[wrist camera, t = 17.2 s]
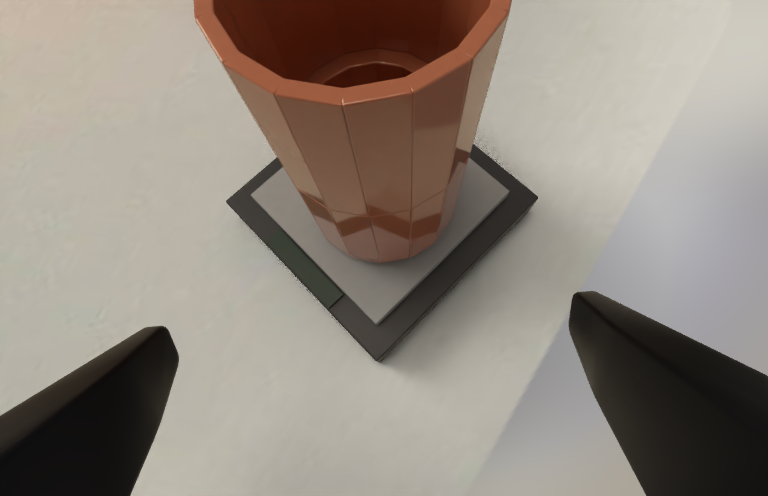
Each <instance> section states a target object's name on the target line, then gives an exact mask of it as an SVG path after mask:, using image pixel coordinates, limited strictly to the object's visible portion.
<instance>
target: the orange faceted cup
mask: <svg viewBox="0 0 768 496" xmlns="http://www.w3.org/2000/svg"><path fill="white" fill-rule="evenodd" d="M511 2H512V0H194V14H195V19H196V23H197V24H198V26H199V28H200V29H201V31H202V33H203V34H204V36H205V38H206V39H207V41H208V43H209V44H210V46H211V48H212V49H213V51H214V53H215V54H216V56H217V58H218V59H219V61H220V63H221V64H222V66H223V68H224V69H225V71H226V73H227V74H228V76H229V78H230V79H231V81H232V83H233V84H234V86H235V88H236V89H237V91H238V93H239V95H240V96H241V98H242V100H243V101H244V103H245V105H246V106H247V108H248V110H249V111H250V113H251V115H252V116H253V118H254V120H255V121H256V123H257V125H258V126H259V128H260V130H261V131H262V133H263V135H264V136H265V138H266V140H267V141H268V143H269V145H270V146H271V148H272V150H273V151H274V153H275V155H276V156H277V158H278V160H279V161H280V163H281V165H282V166H283V168H284V170H285V171H286V173H287V175H288V176H289V178H290V180H291V181H292V183H293V185H294V186H295V188H296V190H297V191H298V193H299V195H300V196H301V198H302V200H303V201H304V203H305V205H306V206H307V208H308V210H309V211H310V213H311V215H312V217H313V218H314V220H315V221H316V223H317V225H318V226H319V228H320V230H321V231H322V233H323V234H324V236H325V238H326V239H327V240H328V241H329V242H330V243H331V244H333V245H334V246H336V247H337V248H339V249H340V250H342V251H343V252H344V253H346V254H347V255H349V256H352V257H353V258H358V259H363V260H367V261H372V262H377V263H380V262H381V263H384V262H390V261H396V260H401V259H407V258H410V257H413V256H414V255H416V254H417V253H419V252H421V251H422V250H424V249H425V248H427V247H429V246H430V245H432V244H433V243H435V241H437V239H438V238H439V237H440V235H441V234H442V232H443V231H444V229H445V228H446V227H447V225H448V224H449V222H450V221H451V219H452V217H453V213H454V210H455V206H456V202H457V199H458V195H459V192H460V188H461V184H462V181H463V177H464V174H465V170H466V166H467V163H468V159H469V156H470V152H471V149H472V145H473V142H474V138H475V134H476V131H477V127H478V124H479V120H480V116H481V113H482V109H483V106H484V102H485V98H486V95H487V91H488V88H489V84H490V81H491V77H492V73H493V70H494V66H495V63H496V59H497V55H498V52H499V48H500V45H501V41H502V38H503V34H504V30H505V27H506V23H507V20H508V16H509V12H510V7H511Z"/></svg>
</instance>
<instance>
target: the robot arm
mask: <svg viewBox="0 0 768 496" xmlns="http://www.w3.org/2000/svg"><path fill="white" fill-rule="evenodd" d="M569 331H570V335H571V337H572V340H573V342H574V345H575V348H576V350H577V353H578V355H579V358H580V360H581V363H582V366H583V368H584V371H585V373H586V376H587V379H588V381H589V384H590V386H591V389H592V391H593V394H594V396H595V398H596V400H597V402H598V404H599V406H600V408H601V410H602V412H603V414H604V416H605V417H606V419H607V421H608V423H609V425H610V427H611V429H612V431H613V433H614V435H615V437H616V438H617V440H618V442H619V444H620V446H621V448H622V450H623V452H624V454H625V456H626V458H627V459H628V461H629V463H630V465H631V467H632V469H633V471H634V473H635V475H636V477H637V479H638V480H639V482H640V484H641V486H642V488H643V490H644V492H645V494H646V496H768V376H767V375H765V374H763V373H761V372H759V371H757V370H755V369H752V368H751V367H748V366H746V365H744V364H742V363H740V362H738V361H736V360H734V359H732V358H730V357H728V356H726V355H724V354H722V353H720V352H718V351H716V350H714V349H712V348H710V347H708V346H706V345H704V344H702V343H699V342H697V341H695V340H693V339H691V338H689V337H687V336H685V335H683V334H681V333H679V332H677V331H675V330H673V329H671V328H669V327H667V326H665V325H663V324H661V323H659V322H657V321H655V320H653V319H650V318H648V317H646V316H644V315H642V314H640V313H638V312H636V311H634V310H632V309H630V308H628V307H626V306H624V305H622V304H619V303H618V302H616V301H614V300H612V299H610V298H608V297H606V296H603V295H602V294H599V293H597V292H595V291H586V292H577V293H575V294H574V295H573V298H572V303H571V310H570V317H569ZM178 363H179V356H178V352H177V350H176V347H175V345H174V342H173V340H172V338H171V335H170V333H169V331H168V329H167V328H166V327H164V326H155V327H146V328H144V329H142V330H140V331H139V332H137V333H135V334H134V335H132V336H130V337H129V338H127V339H125V340H124V341H122V342H121V343H119V344H117V345H116V346H114V347H112V348H111V349H109V350H107V351H106V352H104V353H103V354H101V355H99V356H98V357H96V358H94V359H93V360H91V361H89V362H88V363H86V364H85V365H83V366H81V367H80V368H78V369H76V370H75V371H73V372H71V373H70V374H68V375H66V376H65V377H63V378H62V379H60V380H58V381H57V382H55V383H53V384H52V385H50V386H48V387H47V388H45V389H44V390H42V391H40V392H39V393H37V394H35V395H34V396H32V397H30V398H29V399H27V400H26V401H24V402H22V403H21V404H19V405H17V406H16V407H14V408H12V409H11V410H9V411H8V412H6V413H4V414H3V415H1V416H0V496H130V495H131V492H132V490H133V488H134V485H135V483H136V481H137V478H138V476H139V474H140V471H141V469H142V467H143V464H144V462H145V459H146V457H147V455H148V452H149V450H150V448H151V445H152V443H153V441H154V438H155V436H156V433H157V431H158V428H159V425H160V422H161V419H162V417H163V413H164V410H165V407H166V403H167V400H168V397H169V394H170V390H171V387H172V384H173V380H174V377H175V374H176V371H177V367H178Z"/></svg>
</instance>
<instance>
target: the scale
mask: <svg viewBox="0 0 768 496" xmlns="http://www.w3.org/2000/svg"><path fill="white" fill-rule="evenodd" d="M537 199H538V196H536V195H535V194H534V193H533V192H531V191H530V190H529V189H528V188H527V187H525V186H524V185H523V184H522V183H520V182H519V181H518V180H517V179H515V178H514V177H513V176H512V175H511V174H509V173H508V172H507V171H506V170H504V169H503V168H502V167H501V166H500V165H498V164H497V163H496V162H495V161H493V160H492V159H491V158H490V157H489V156H487V155H486V154H485V153H484V152H482V151H481V150H480V149H479V148H477V147H476V146H475V145H474V144H473V145H472V149H471V152H470V156H469V159H468V163H467V166H466V170H465V174H464V177H463V181H462V184H461V188H460V192H459V195H458V199H457V202H456V206H455V210H454V213H453V217H452V219H451V221H450V222H449V224H448V225H447V227H446V228H445V229H444V231H443V232H442V234H441V235H440V237H439V238H438V239H437V241H435V243H433V244H432V245H430V246H429V247H427V248H425V249H424V250H422V251H421V252H419V253H417V254H416V255H414V256H413V257H410V258H407V259H401V260H396V261H390V262H384V263H381V262H380V263H377V262H372V261H367V260H363V259H358V258H353V257H352V256H349V255H347V254H346V253H344V252H343V251H342V250H340V249H339V248H337V247H336V246H334V245H333V244H331V243H330V242H329V241H328V240H327V239H326V238H325V236H324V234H323V233H322V231H321V230H320V228H319V226H318V225H317V223H316V221H315V220H314V218H313V217H312V215H311V213H310V211H309V210H308V208H307V206H306V205H305V203H304V201H303V200H302V198H301V196H300V195H299V193H298V191H297V190H296V188H295V186H294V185H293V183H292V181H291V180H290V178H289V176H288V175H287V173H286V171H285V170H284V168H283V166H282V165H281V163H280V161H279V160H278V158H276V159H275V160H273V161H272V162H271V163H270V164H269V165H268V166H266V167H265V168H264V169H263V170H262V171H261V172H259V173H258V174H257V175H256V176H255V177H254V178H252V179H251V180H250V181H249V182H248V183H247V184H245V185H244V186H243V187H242V188H241V189H240V190H238V191H237V192H236V193H235V194H234V195H233V196H231V197H230V198H229V199H228V200H227V201H226V202H227V204H228V205H229V206H230V207H231V208H232V209H233V210H234V211H235V212H236V213H237V214H238V215H239V216H240V217H241V219H242V220H243V221H244V222H245V223H246V224H247V225H248V226H249V227H250V228H251V229H252V230H253V231H254V232H255V233H256V234H257V235H258V237H259V238H260V239H261V240H262V241H263V242H264V243H265V244H266V245H267V246H268V247H269V248H270V249H271V250H272V251H273V252H274V254H275V255H276V256H277V257H278V258H279V259H280V260H281V261H282V262H283V263H284V264H285V265H286V266H287V267H288V268H289V269H290V270H291V272H292V273H293V274H294V275H295V276H296V277H297V278H298V279H299V280H300V281H301V282H302V283H303V284H304V285H305V286H306V287H307V289H308V290H309V291H310V292H311V293H312V294H313V295H314V296H315V297H316V298H317V299H318V300H319V301H320V302H321V303H322V304H323V306H324V307H325V308H326V309H327V310H328V311H329V312H330V313H331V314H332V315H333V316H334V317H335V318H336V319H337V320H338V321H339V322H340V324H341V325H342V326H343V327H344V328H345V329H346V330H347V331H348V332H349V333H350V334H351V335H352V336H353V337H354V338H355V339H356V341H357V342H358V343H359V344H360V345H361V346H362V347H363V348H364V349H365V350H366V351H367V352H368V353H369V354H370V355H371V356H372V357H373V359H374V360H375V361H377V362H381V361H382V360H383V359H384V358H385V357H386V356H387V355H388V354H389V353H390V352H391V351H392V350H393V349H394V348H395V347H396V346H397V345H398V344H399V343H400V342H401V340H402V339H403V338H404V337H405V336H406V335H407V334H408V333H409V332H410V331H411V330H412V329H413V328H414V327H415V326H416V325H417V324H418V323H419V322H420V321H421V320H422V319H423V318H424V317H425V316H426V315H427V314H428V313H429V312H430V311H431V310H432V309H433V308H434V307H435V306H436V305H437V304H438V303H439V302H440V301H441V300H442V299H443V298H444V297H445V296H446V295H447V294H448V293H449V292H450V291H451V290H452V289H453V288H454V287H455V286H456V285H457V284H458V283H459V281H460V280H461V279H462V278H463V277H464V276H465V275H466V274H467V273H468V272H469V271H470V270H471V269H472V268H473V267H474V266H475V265H476V264H477V263H478V262H479V261H480V260H481V259H482V258H483V257H484V256H485V255H486V254H487V253H488V252H489V251H490V250H491V249H492V248H493V247H494V246H495V245H496V244H497V243H498V242H499V241H500V240H501V239H502V238H503V237H504V236H505V235H506V234H507V233H508V232H509V231H510V230H511V229H512V228H513V227H514V226H515V225H516V224H517V223H518V221H519V220H520V219H521V218H522V217H523V216H524V215H525V214H526V213H527V212H528V211H529V210H530V209H531V207H532V206H533V204H534V203H535V202H536V200H537Z"/></svg>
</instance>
